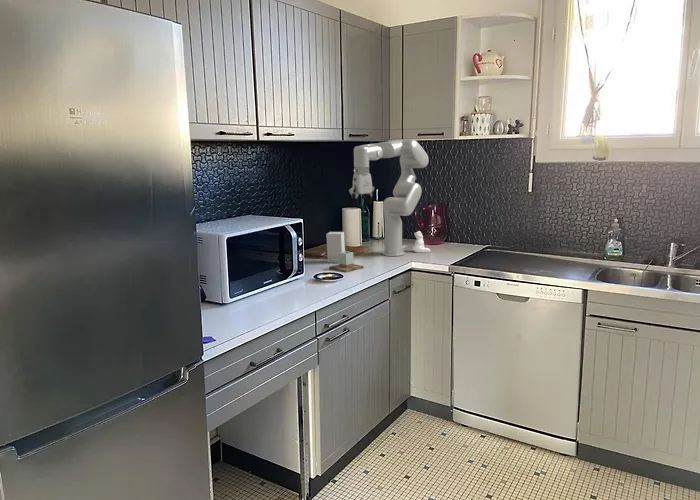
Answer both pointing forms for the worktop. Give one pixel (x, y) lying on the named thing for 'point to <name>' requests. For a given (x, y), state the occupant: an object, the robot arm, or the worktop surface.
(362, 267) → the pin board
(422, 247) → the white creature statuette
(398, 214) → the robot arm
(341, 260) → the sleeve
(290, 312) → the worktop surface
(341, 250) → the skincare box
